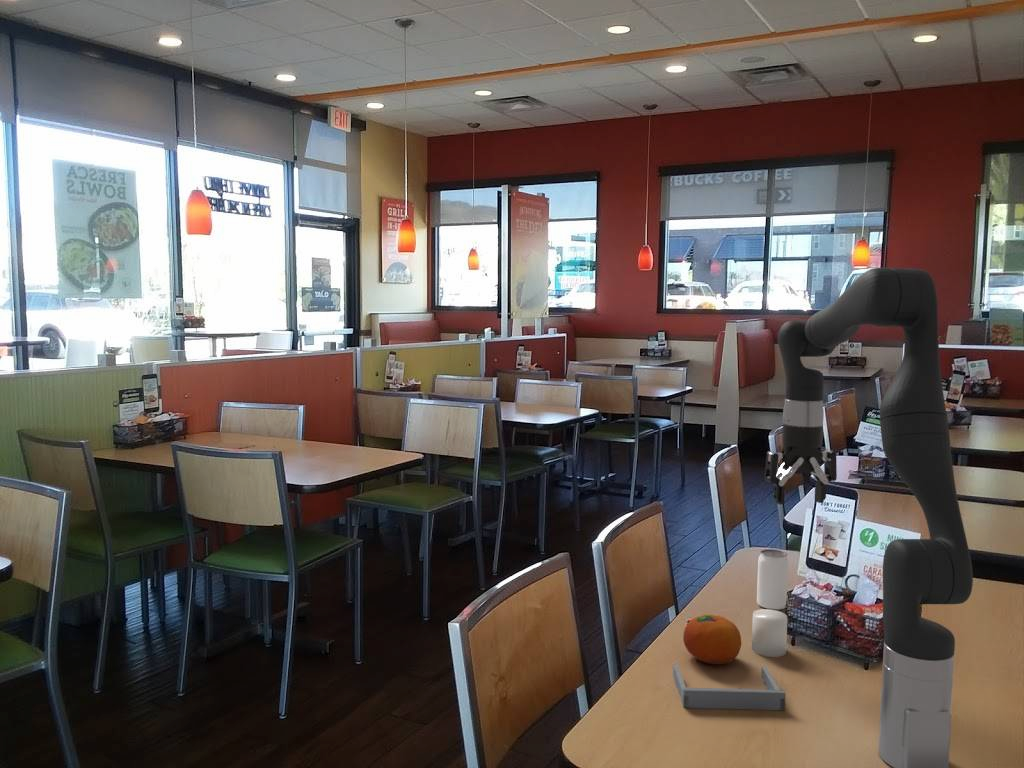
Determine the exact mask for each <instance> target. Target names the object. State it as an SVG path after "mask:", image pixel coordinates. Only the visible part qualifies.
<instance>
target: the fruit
mask: <svg viewBox="0 0 1024 768" xmlns="http://www.w3.org/2000/svg"><path fill="white" fill-rule="evenodd" d="M682 639H683V644H684V647H685V648H686V651H688V653H689V654H690V655H692V657H694V658H695V659H696V660H698V661H700V662H703V663H706V664H712V665H726V664H729V663H731V662H733V661H734V660H735V659H736V658H737V656H738V655H739V653H740V650H741V646H742V636H741V632H740V630H739V628H738V627H737V625H736V624H735V623H734V622H733V621H731V620H729V619H727V618H726V617H724V616H720V615H714V614H703V615H700V616H696V617H694V618H692V619H691V620H689V622H688V623H687V624H686V626H685V627H684V631H683V638H682Z"/></svg>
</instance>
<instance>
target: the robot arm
mask: <svg viewBox="0 0 1024 768" xmlns="http://www.w3.org/2000/svg"><path fill="white" fill-rule="evenodd" d="M936 287H937V286H936V285H935V281H934V279H933V277H932V275H931V274H930V273H929V272H928V271H926V270H925V269H921V268H909V267H906V268H905V267H903V268H902V267H875V268H871V269H868V270H866V271H864V272H863V273H862V274H861V275H859V276H858V277H857V278H856V279H855V280H854V281H853V282H852V283H851V284H850V286H848V288H847V289H846V290H845V291H843V292H842V293H841V294H840V296H839V297H838V298H837V299H836V300H835V301H834V302H833V303H831V304H829V305H828V306H826V307H825V308H823V309H821V310H819V311H817V312H815V313H814V314H812V315H811V316H810V317H809V318H808V319H807V320H789V321H786V322H784V323H783V324H782V325H781V327H780V329H779V331H778V334H777V344H778V348H779V353H780V356H781V359H782V365H783V369H784V370H783V371H784V375H785V392H784V393H785V394H784V405H783V410H782V412H783V413H782V431H781V432H782V436H781V438H782V439H781V443H782V449H781V452H774V451H772V450H768V451H767V452H766V458H765V467H764V480H765V481H767V482H769V483H771V484H772V485H773V495H772V496H773V497H772V498H773V500H774V501H775V503H776V504H778V505H784V504H785V494H786V493H785V491H786V485H785V484H786V482H787V481H788V480H789V479H790V478H793V475H794V474H795V475H801V474H803V473H804V474H811V475H812V476H813V478H814V479H815V481H816V482H815V483H814V501H815V502H816V503H819V504H823V503H824V501H825V500H826V499H827V486H828V484H829V483H830V482H835V481H837V479H838V478H837V473H838V471H837V467H838V466H837V465H838V464H837V452H836V451H833V450H830V449H828V448H827V449H825V450H824V451H823V450H822V446H823V439H824V435H823V434H824V411H825V410H824V401H823V400H824V383H825V379H824V373H823V372H822V371H821V370H818V369H814V368H809V367H806V366H804V365H803V362H802V359H801V357H803V358H806V357H807V358H810V357H811V358H813V357H814V358H815V357H816V358H817V357H818V358H819V357H821V358H822V357H826V356H829V355H831V354H832V353H833V351H834V350H835V349H836V347H838V345H841V344H842V343H846V342H848V341H849V340H850V339H853V337H854V336H856V334H857V333H858V332H859V330H860V327H861V325H863V326H864V325H871V326H875V327H893V328H895V327H897V328H902V330H903V336H904V337H903V338H904V340H903V341H904V344H903V346H904V349H903V357H902V361H901V363H900V366H899V368H898V370H897V372H896V373H895V376H894V378H892V381H891V383H890V384H889V386H888V388H887V390H886V391H885V394H884V396H883V398H882V400H881V403H880V407H879V424H880V434H881V444H882V449H883V452H884V455H885V458H886V459H887V460H888V463H889V465H890V466H891V467H892V468H893V470H894V471H895V473H896V474H897V475H898V477H899V478H900V479H901V480H902V482H903V483H904V484H905V485H906V487H908V489H909V490H910V492H911V494H912V495H913V497H915V499H916V500H917V502H918V503H919V505H920V507H921V510H922V512H923V514H924V517H925V520H926V524H927V528H928V533H929V538H901V539H900V538H899V539H893V540H891V541H890V542H889V543H888V545H887V546H886V548H885V551H884V554H883V558H882V559H883V561H882V622H883V623H882V624H883V630H884V632H883V633H884V638H883V639H884V640H883V655H882V658H883V659H882V671H881V673H882V674H881V675H882V676H881V690H880V691H881V693H880V711H879V713H880V714H879V734H878V755H879V757H880V758H881V759H882V761H883V762H885V763H886V764H888V765H889V766H891V767H892V768H949V766H950V765H949V764H950V763H949V761H950V748H951V730H952V717H953V716H952V714H951V711H952V710H951V709H952V692H953V679H954V678H953V677H954V664H955V663H954V661H955V649H956V648H955V647H956V640H955V636H954V634H953V632H952V631H951V630H950V629H948V628H947V627H945V626H944V625H942V624H940V623H938V622H935V621H934V620H933V621H932V620H931V619H928V618H924V617H921V614H920V605H961V604H964V603H965V602H967V601H968V600H969V598H970V596H971V594H972V591H973V583H974V580H973V579H974V575H973V565H972V558H971V554H970V550H969V545H968V539H967V536H966V531H965V527H964V522H963V519H962V518H963V517H962V514H961V509H960V504H959V501H958V500H959V499H958V495H957V493H958V492H957V488H956V483H955V482H956V481H955V475H954V465H953V458H952V450H951V449H952V448H951V447H952V446H951V435H950V429H949V422H948V415H947V407H946V404H945V403H946V402H945V396H944V389H943V381H942V379H943V378H942V374H941V373H942V371H941V362H940V361H941V359H940V349H939V348H940V344H939V307H938V294H937V288H936ZM822 460H823V467H824V469H822V467H821V465H820V464H819V463H820V462H821V461H822ZM781 461H782V462H783V463H782V464H781V465H780V467H779V468H778V464H779V463H781Z"/></svg>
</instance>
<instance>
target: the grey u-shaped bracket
mask: <svg viewBox="0 0 1024 768" xmlns="http://www.w3.org/2000/svg"><path fill="white" fill-rule="evenodd" d="M672 667H673V668H672V677H673V679H674V682H675V684H676V688H677V691H678V694H679V697H680V701H681V703H682V706H683V708H686V709H688V708H689V709H720V710H722V709H723V710H724V709H725V710H726V709H727V710H729V709H730V710H761V711H762V710H764V711H770V710H771V711H785V710H786V709H785V708H786V691H785V690H784V689H780V687H779V686H778V685H777V683H776V681H775V679H774V678H773V676H772V674H771V672H770V670H769V669H768V667H767V666H761V672H760V673H761V674H760V678H761V680H762V681H763V683H764V685H765V686H766V688H767V689H760V688H759V689H758V688H757V689H756V688H755V689H754V688H750V689H749V688H717V687H712V688H709V687H686V684H685V682H684V678H683V675H682V673H681V670H680V667H679V664H673V665H672Z"/></svg>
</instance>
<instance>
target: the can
mask: <svg viewBox="0 0 1024 768" xmlns="http://www.w3.org/2000/svg"><path fill="white" fill-rule="evenodd" d="M757 562H758V563H757V580H756V581H757V583H756V585H757V587H756V604H757V605H758V606H759V607H760V608H761V609H765V608H766V609H771V610H776V611H780V610H781V609H782V610H784V609H785V608H786V607H785V603H786V595H787V592H789V590H788V588H789V567H790V565H789V564H790V561H789V558H788V553H787V552H786V551H784V550H779V549H773V548H772V549H771V548H770V549H769V548H767V549H763V550H760V555H759V556H758V560H757ZM787 596H788V595H787ZM782 610H781V611H782Z"/></svg>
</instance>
